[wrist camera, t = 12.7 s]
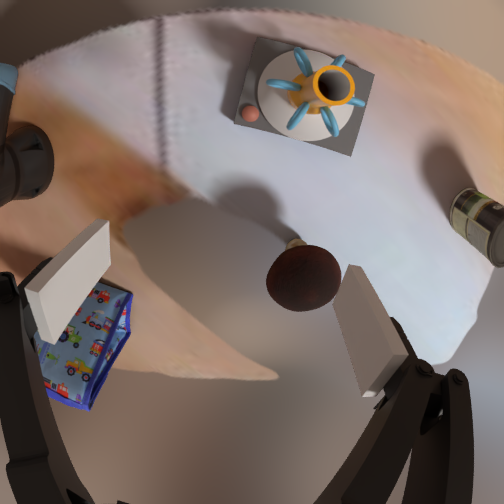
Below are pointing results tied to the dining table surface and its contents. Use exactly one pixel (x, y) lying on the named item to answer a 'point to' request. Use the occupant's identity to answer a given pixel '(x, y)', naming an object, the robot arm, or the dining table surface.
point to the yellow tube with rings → (318, 91)
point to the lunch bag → (86, 347)
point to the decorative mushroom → (303, 277)
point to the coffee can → (480, 223)
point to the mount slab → (279, 108)
